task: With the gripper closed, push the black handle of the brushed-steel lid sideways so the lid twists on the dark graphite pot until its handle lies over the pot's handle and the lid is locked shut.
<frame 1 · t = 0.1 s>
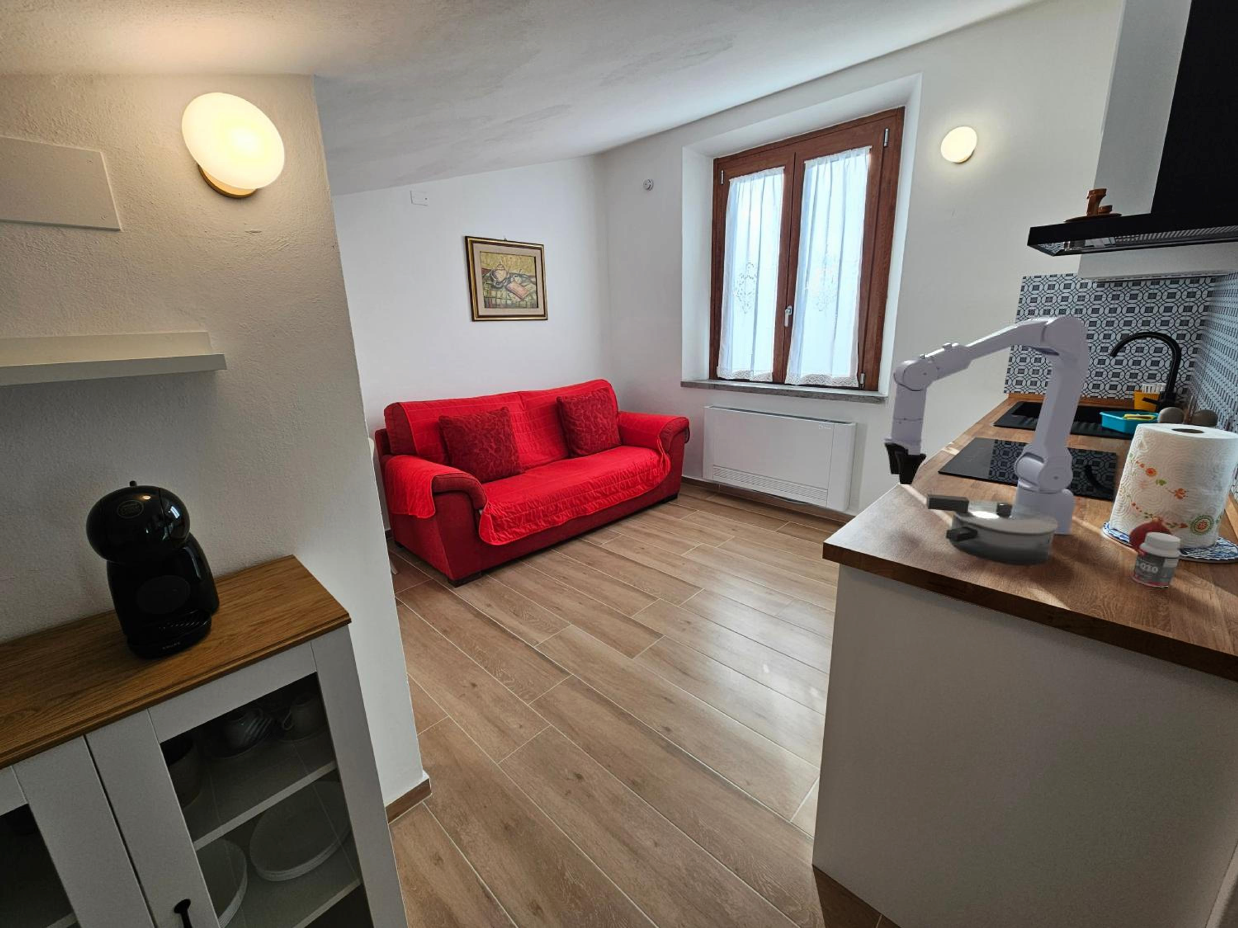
hand: (900, 479, 114), 10 cm above the table, tool pointing down, fingers open, 7 cm apart
cooker pot: (997, 546, 103), on the table
onion: (1146, 559, 97), on the table
cooker lid: (989, 508, 102), point 8 cm above the table, hinge at -40.0°
pill bottle: (1150, 583, 89), on the table
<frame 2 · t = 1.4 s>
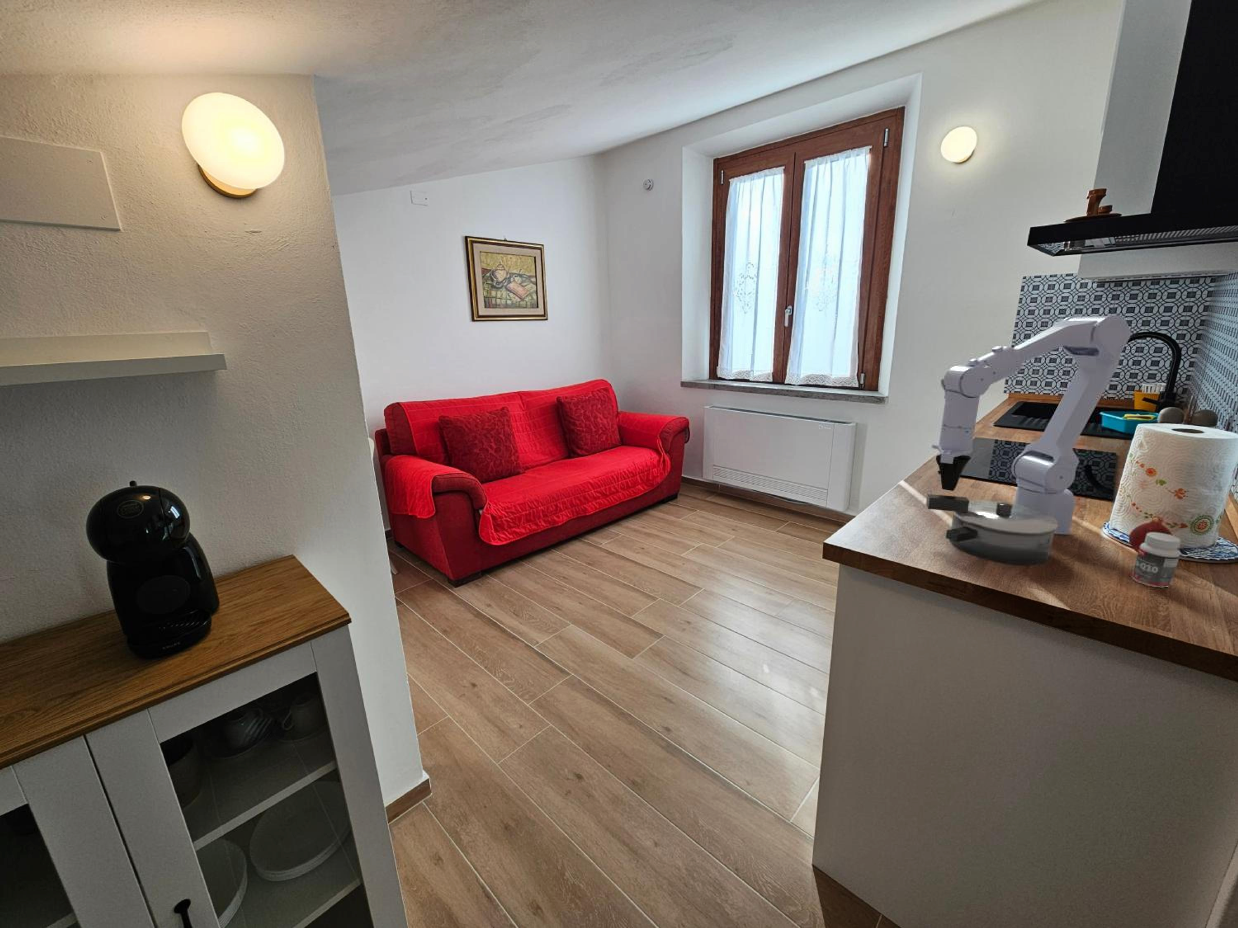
hand: (948, 489, 109), 9 cm above the table, tool pointing down, fingers closed
nothing on the table moved.
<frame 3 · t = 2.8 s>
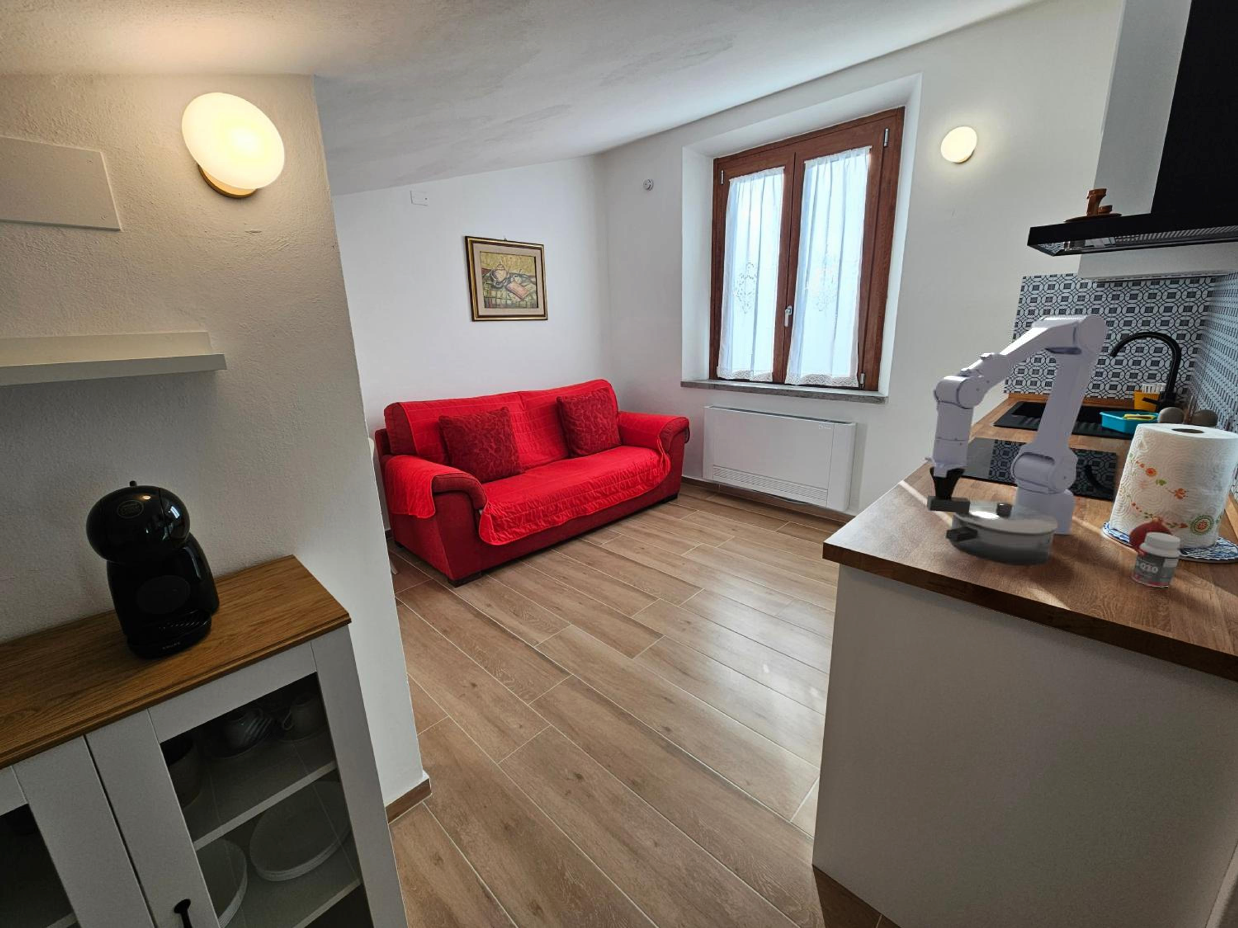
hand: (942, 502, 106), 8 cm above the table, tool pointing down, fingers closed
cooker lid: (989, 509, 102), point 8 cm above the table, hinge at -35.5°, touching gripper
everything else where it was.
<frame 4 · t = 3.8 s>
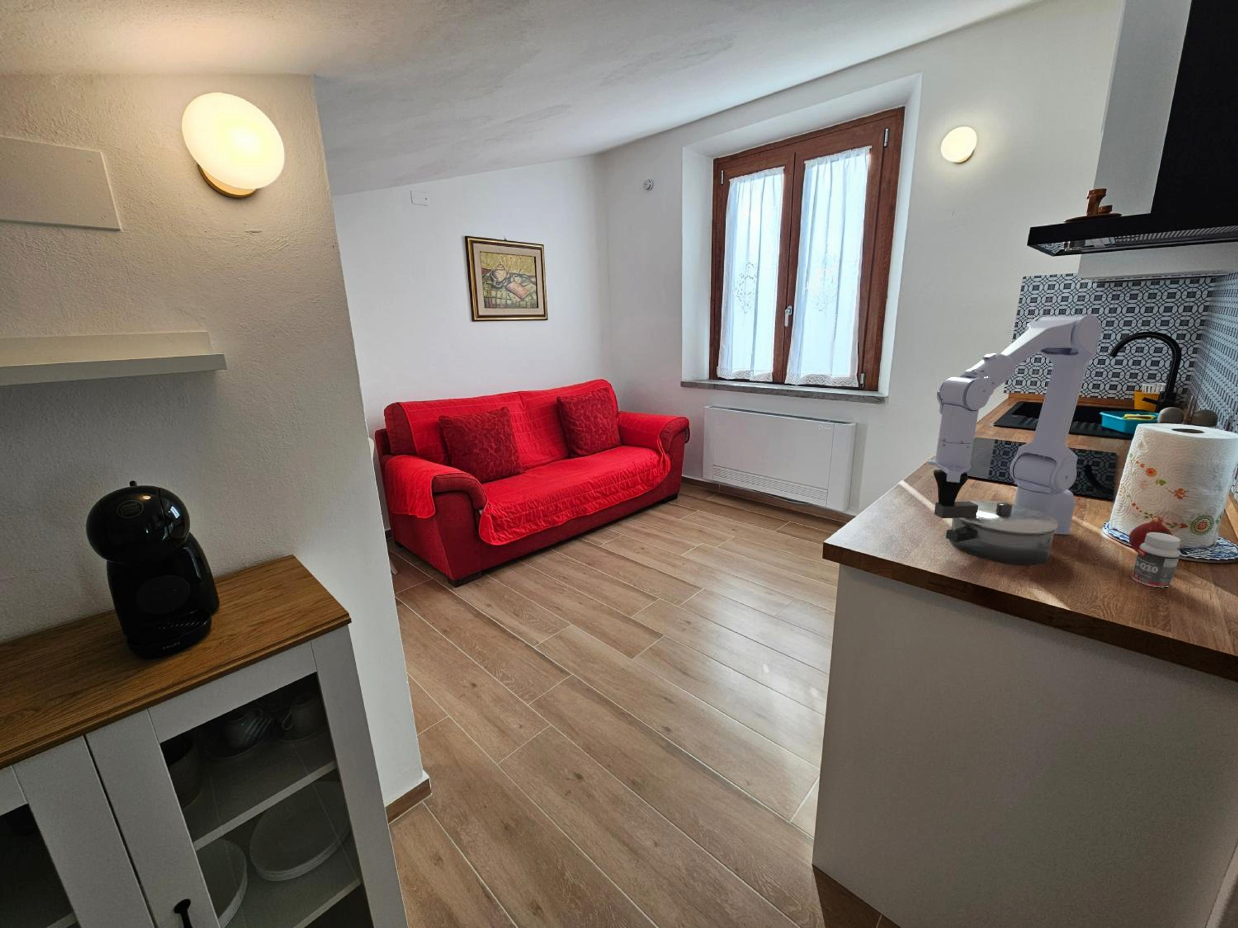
hand: (945, 507, 103), 8 cm above the table, tool pointing down, fingers closed
cooker lid: (991, 510, 101), point 8 cm above the table, hinge at -16.7°, touching gripper
everything else where it was.
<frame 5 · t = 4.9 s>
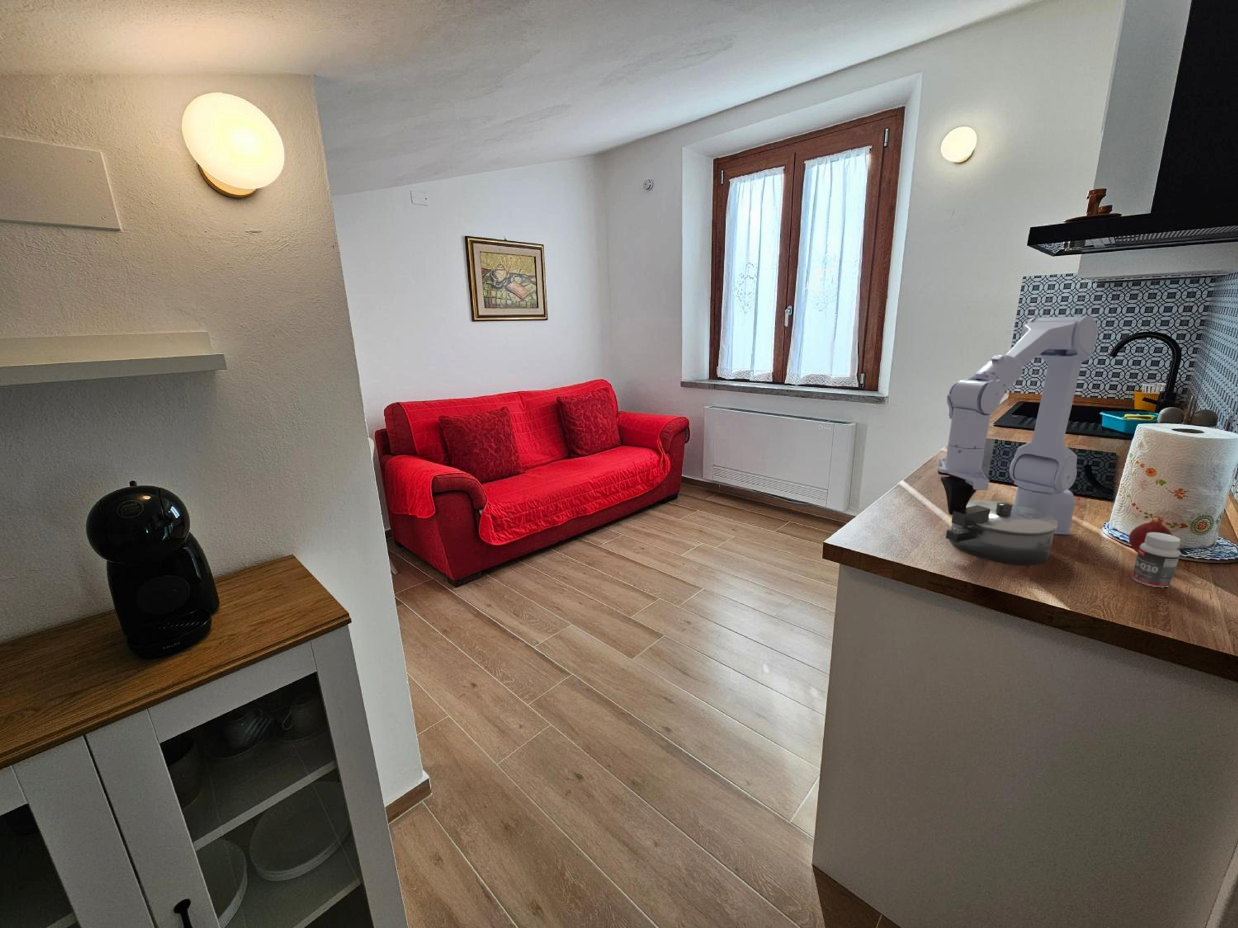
hand: (955, 514, 100), 8 cm above the table, tool pointing down, fingers closed
cooker lid: (995, 512, 100), point 8 cm above the table, hinge at 3.5°, touching gripper
everything else where it was.
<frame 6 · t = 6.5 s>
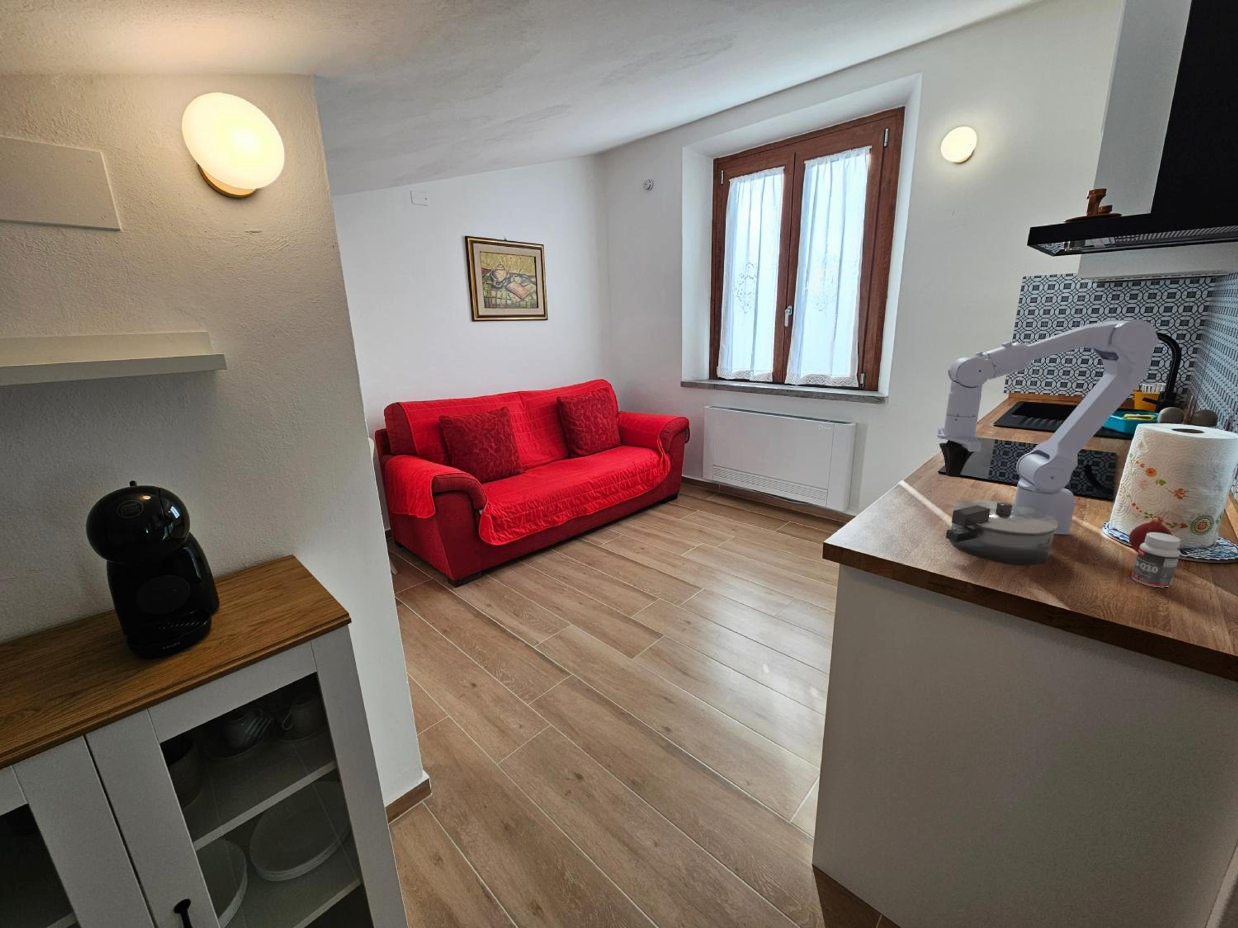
hand: (952, 476, 114), 10 cm above the table, tool pointing down, fingers closed
cooker lid: (995, 512, 100), point 8 cm above the table, hinge at 3.5°
everything else where it was.
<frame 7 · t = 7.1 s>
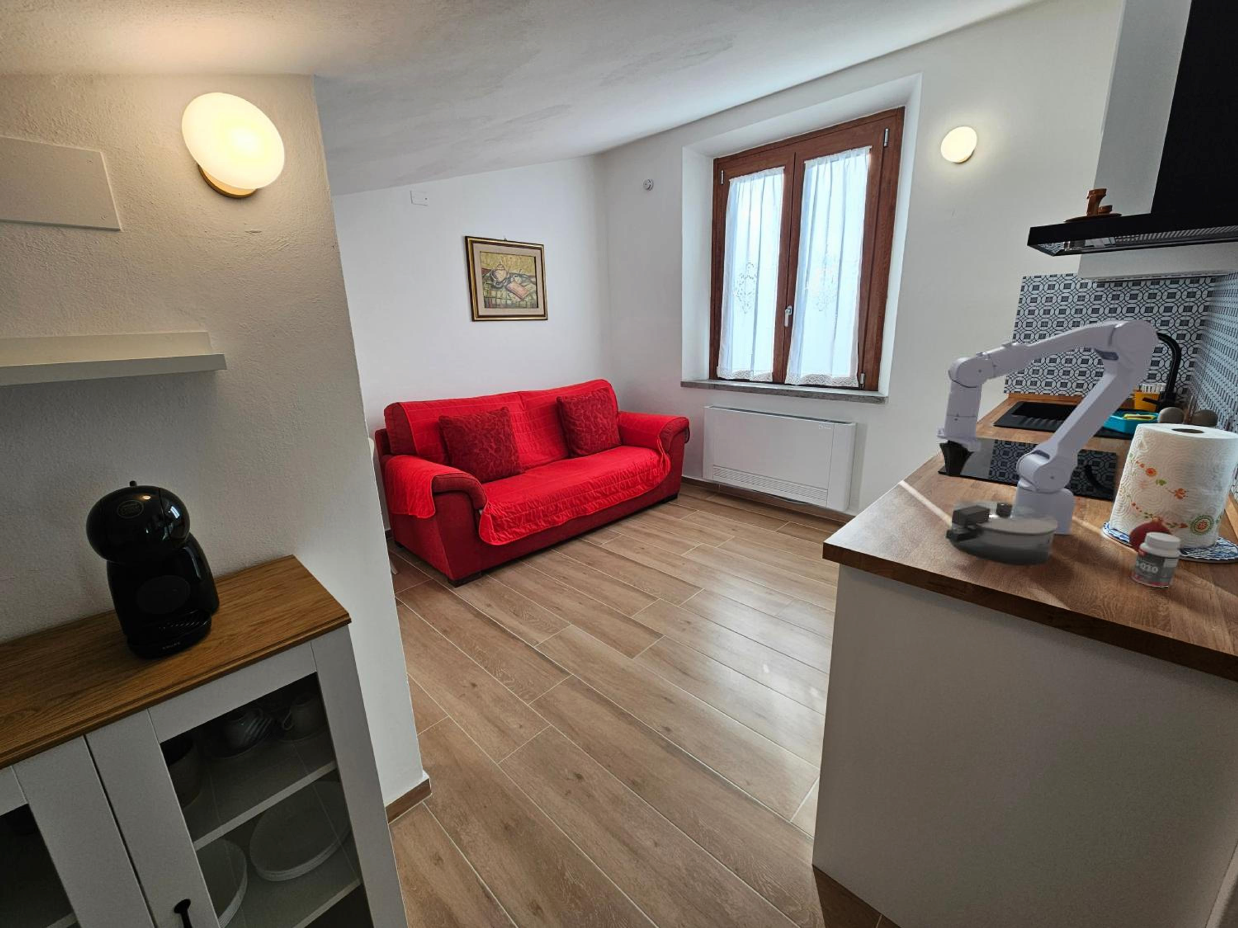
hand: (952, 476, 114), 10 cm above the table, tool pointing down, fingers closed
nothing on the table moved.
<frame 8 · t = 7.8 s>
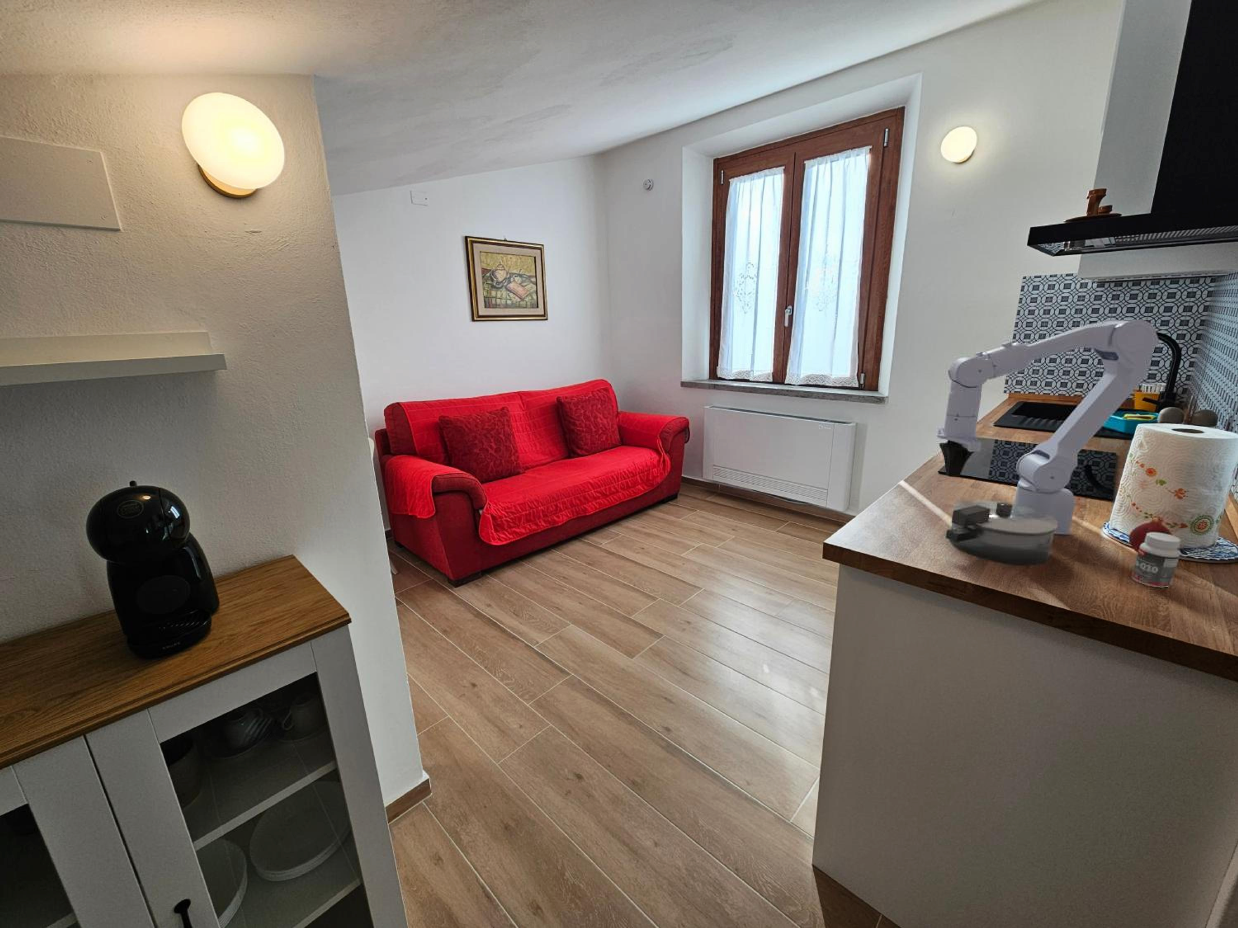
hand: (952, 476, 114), 10 cm above the table, tool pointing down, fingers closed
nothing on the table moved.
at the end: cooker lid at +4° (first picture: -40°) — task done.
